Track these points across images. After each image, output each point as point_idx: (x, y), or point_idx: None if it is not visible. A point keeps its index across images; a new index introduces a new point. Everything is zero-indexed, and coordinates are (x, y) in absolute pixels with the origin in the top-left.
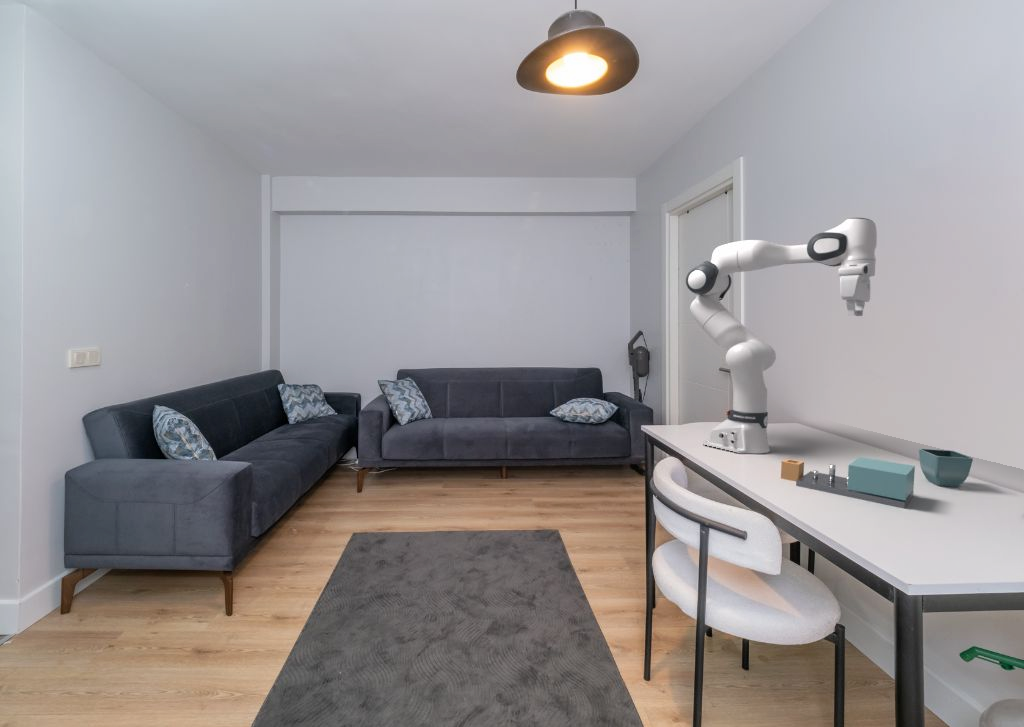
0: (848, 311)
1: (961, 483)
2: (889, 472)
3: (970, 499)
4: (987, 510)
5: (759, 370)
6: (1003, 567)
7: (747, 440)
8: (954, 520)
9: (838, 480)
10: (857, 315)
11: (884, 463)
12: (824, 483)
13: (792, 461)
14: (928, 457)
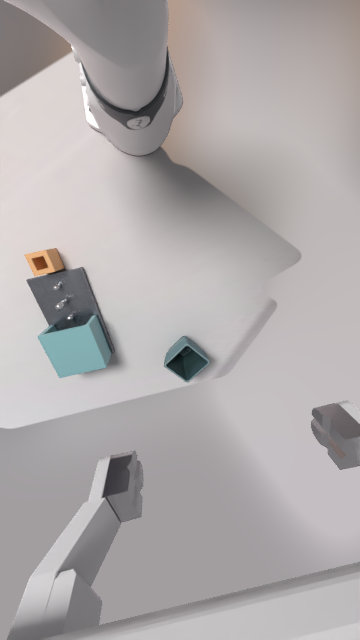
0: (94, 486)
1: (183, 360)
2: (54, 366)
3: (150, 373)
4: (129, 387)
5: (41, 14)
6: (16, 423)
7: (99, 121)
8: (78, 386)
9: (75, 304)
10: (314, 416)
11: (85, 350)
12: (48, 302)
13: (45, 259)
14: (173, 353)
